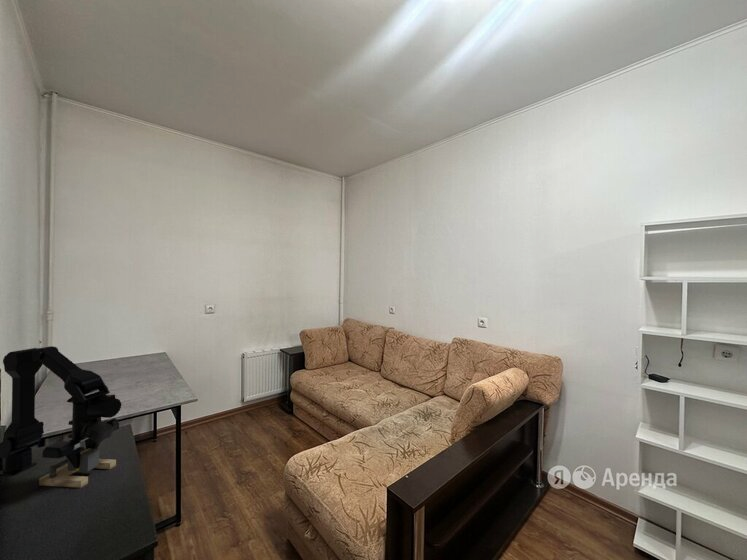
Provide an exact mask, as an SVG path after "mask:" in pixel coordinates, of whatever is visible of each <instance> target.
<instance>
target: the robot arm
mask: <svg viewBox="0 0 747 560" xmlns="http://www.w3.org/2000/svg"><path fill="white" fill-rule="evenodd" d="M2 364H3V366H4V367H3V368H4V372H5V373H6V374H7V375H9V376H10V377H11V379H12V380H11V382H12V383H11V422H10V424H9V425H8V427H7V428H6V429H5V430H4V431H3V435H2V441H1V442H0V459H2V470H0V476H8V477H12V476H13V477H14V476H17V475H18V474H21V473H22V472H24V471H26V470H28V469H30V468H32V467H34V466H37V465H38V462H33V447H35V446H39V445H40V443H41V440H42V438H43V434H45V431H44V425H45V423H44V422H43V421H39V420H38V418H36V415H35V413H36V412H35V411H36V408H35V407H36V406H35V405H36V374H37V373H39V371H40V369H41V368H42V367H43V366H44V367H45V368H47V369H48V370H50V371H51V372H52V373H53V374H54V375H56V376H57V377H58V378H59V379H60V380H61V381H62V382H63V384H64V385H63V386H64V387H63V388H64V390H65V391H66V392H67V393H68V394H69V396H70V397H69V398H68V399H67V401H66V402H67V403H72V413H71V414H72V415H71V417H72V419H71V420H69V421H68V425H70V426H71V432H70V433H69V434H67V439H71V440H68V441H61V440H59V441H56V442H54V443H52V444H50V445H47V446H45V448H44V449H43V450H42V458H45V459H46V458H47V459H60V458H61V459H62V458H63V457H66V459H67V458H68V459H69V461H70V462H71V464H72V465H73V466H74V468H79V466H80V452H81V451H82V450H83V449H88V448H91V449H99V446H100V444H101V443H102V442H103V441H104V440H107V439H109V438H111V437H112V434H113V432H114V431H117V430H119V429H120V422H119V421H118V419H117V418H115V416H117V415H118V413H119V412H120V410H121V408H122V402H121V400H120V399H119V398H116V394H110V392H111V391H110V389H109V387H108V386H107V385H106V383H105V382H104V380H103V378H102V377H101V376H100V375H99V374H98V373H95V372H93V371H92V370H87V369H82V368H80V367H79V366H78V365H77V364H76V363H75V362H73V361H72V360H70V359H69V358H68V357H67V356H65V355H64V354H62V352H60V351H59V349H58V347H57V346H52V345H51V346H46V347H45V346H44V347H39V348H37V347H33V348H25V349H21V350H13V351H10V352H8V353H7V354H6V355H4V357H3V358H2ZM113 417H114V418H113ZM102 418H108V419H107V420H105V419H104V420H102ZM109 418H112V419H110V420H109ZM83 442H84V443H85V444H84V445H85V447H84V446H81V443H83Z"/></svg>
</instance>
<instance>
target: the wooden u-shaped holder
mask: <svg viewBox="0 0 747 560" xmlns="http://www.w3.org/2000/svg"><path fill="white" fill-rule="evenodd" d="M116 466H117V459H111V458H110V459H108V458H107V459H106V458H99V465H98V466H96V467H94V468H93V469H100V470H101V469H102V470H111V469H113V468H114V467H116ZM75 473H77V471H72V470H68V458H67V457H66V459H64V460H62V461H60V462H58V463H56V464H52V465H50V466H49V473H46V474H45V475H42V476H41V477H40V478H39V480H38V481H39V483H38V485H39V486H45V487H46V486H47V487H64V488H65V487H66V488H78V489H81V488H84V487H85V486H86V485H88V484H89V476H84V475H81V476H80V475H72V474H75Z"/></svg>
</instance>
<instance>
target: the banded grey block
mask: <svg viewBox="0 0 747 560" xmlns="http://www.w3.org/2000/svg"><path fill="white" fill-rule="evenodd" d="M99 459H100V449H99V448H97V449H91V448H88V449H86V448H84V449H83V450H82V451H81V452H80V466H79V468H74V466H73V465H72V464H71V462H70V461H69V459H68V462H67V464H68V470H72V471H76V472H90V471H91V470H92V469H95V468H94V467H96V466H98V465H99Z"/></svg>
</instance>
